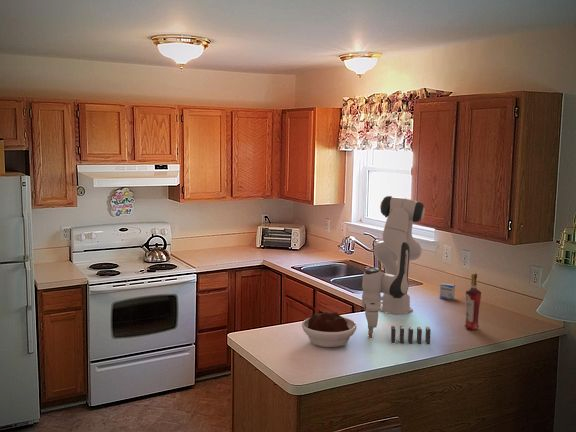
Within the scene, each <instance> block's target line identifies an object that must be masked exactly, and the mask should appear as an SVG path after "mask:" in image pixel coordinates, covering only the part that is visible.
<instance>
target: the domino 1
mask: <svg viewBox="0 0 576 432" xmlns="http://www.w3.org/2000/svg"><path fill="white" fill-rule="evenodd" d="M367 331H368V335H369V336H368V335H367V336H368V339H369V338H372V339H373V333H369V329H368V330H367Z"/></svg>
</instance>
